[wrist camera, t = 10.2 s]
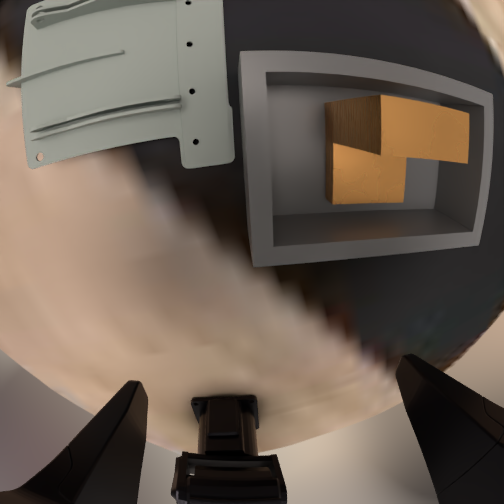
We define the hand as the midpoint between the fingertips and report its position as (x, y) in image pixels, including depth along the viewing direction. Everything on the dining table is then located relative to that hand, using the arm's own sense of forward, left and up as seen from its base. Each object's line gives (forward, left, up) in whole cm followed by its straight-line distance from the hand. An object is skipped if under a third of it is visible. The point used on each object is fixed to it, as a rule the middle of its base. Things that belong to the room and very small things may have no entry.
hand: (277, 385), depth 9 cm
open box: (+6, -7, -12) cm, 15 cm away
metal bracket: (+13, +7, -12) cm, 19 cm away
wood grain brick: (+6, -7, -11) cm, 15 cm away
